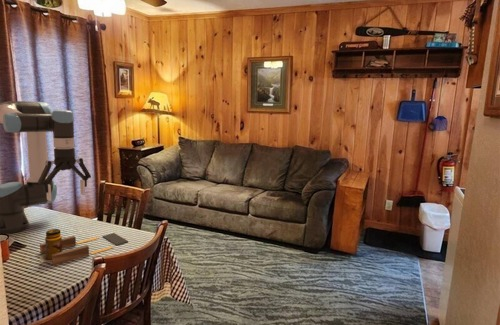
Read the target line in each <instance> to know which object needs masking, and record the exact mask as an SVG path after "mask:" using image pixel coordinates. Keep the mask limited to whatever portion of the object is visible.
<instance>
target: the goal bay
mask: <svg viewBox="0 0 500 325" xmlns="http://www.w3.org/2000/svg"><path fill="white" fill-rule="evenodd" d="M98 239H100V238H99V237H98V236H95V237H92V238H87V239H84V240H79V241H76V245H79V244H84V243H87V242H90V241H91V242H92V241H95V240H98ZM113 249H114V246H107V247H105V248H101V249H97V250H94V251H91V252H90V251H89V255H95V254H98V253H103V252H105V251H108V250H113Z"/></svg>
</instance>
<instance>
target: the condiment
mask: <svg viewBox="0 0 500 325" xmlns="http://www.w3.org/2000/svg"><path fill="white" fill-rule="evenodd" d="M62 239H63V238H62V235H61V229H59V228H51V229H48V230H47V231H46V232H45V238H44V243H46V253H45V254H41V255H40V257H39V258H40V264H43V263H47V262H52V254H56V253H60V252H63V249H62Z"/></svg>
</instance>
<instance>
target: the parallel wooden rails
mask: <svg viewBox="0 0 500 325" xmlns="http://www.w3.org/2000/svg"><path fill="white" fill-rule="evenodd" d="M76 239H77V238H76V236H75V235H72V236H68V237H63V238H62V252H60V253H56V254H52V261H51V265H53V266H57V265H61V264H63V263H67V262H71V261H73V260H77V259H81V258H84V257H87V256H90V246H89V245H88V244H85V245H81V246H79V247H75V246H76V245H77V243H76V242H77V241H76ZM71 247H75V248H71ZM66 248H71V249H68V250H64V249H66ZM39 249H40V252H39V253H40V254H41V255H46V243H45V242H43V243H40V244H39ZM63 250H64V251H63Z"/></svg>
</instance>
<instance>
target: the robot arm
mask: <svg viewBox="0 0 500 325" xmlns="http://www.w3.org/2000/svg"><path fill="white" fill-rule="evenodd" d="M50 107H51V106H50V105H49V104H48V103H47V102H45V101H44V102H43V101H28V100H27V101H24V100H19V101H18V100H9V101H8V100H7V101H5V102H1V103H0V124H2V126H3V130H4V131H5V132H6V133H26V143H27V156H28V158H27V159H28V171H29V174H28V175H29V176H28V178H27V179H26V183H25V184H23V182H21V181H11V182H6V183H1V184H0V234H1V235H2V234H4V235H5V234H13V233H17V232H21V231H24V230H26V229H28V228H29V227H30V222H29V221H30V220H29V219H28V217H27V215H26V214H25V208H27V207H33V206H37V205H38V206H39V205H46V204H51V203H53V202H54V201H55V200H56V199H57V195H58V194H57V193H58V192H57V191H58V187H57V183H56V181H54V180H53V179H54V178H55V177H56V176H57V174H58V173H59V172H60V171H66V170H67V171H68V170H69V171H70V170H72V171H73V172H74V173H76V174H77V176H79V177H80V178H81V179H79V181H80V182H79V183H80V186H79V187H80V188H79V189H80V195H82V196H86V188H88V184H87V183H88V179H91V178H92V175H91V173H90V171H89V170H88V169H87V167H86V165H85V163H84V160H83V159H84V158H82V157H78V158H76V154H75V152H76V151H75V150H76V149H75V148H74V147H75V133H74V132H75V130H74V128H75V127H74V121H75V119H74V114H73V112H72V111H71V110H63V109H62V110H61V109H60V110H59V109H56V110H51V108H50ZM47 133H52V136H53V141H52V142H53V156H54V160H49V158H48V142H47V141H48V140H47ZM76 163H77V164H78V165H79V168H80V169H81V170H82V171H81V170H80V169H78V167H77V166H75V164H76ZM53 165H54V167H53V168H52V166H53ZM51 168H52V171H51ZM49 172H50V173H49ZM82 172H83V173H82Z"/></svg>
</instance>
